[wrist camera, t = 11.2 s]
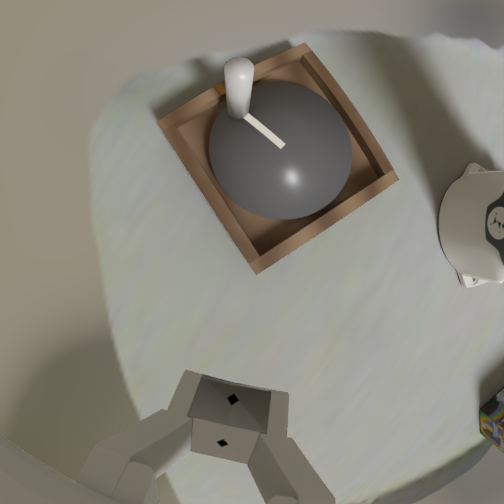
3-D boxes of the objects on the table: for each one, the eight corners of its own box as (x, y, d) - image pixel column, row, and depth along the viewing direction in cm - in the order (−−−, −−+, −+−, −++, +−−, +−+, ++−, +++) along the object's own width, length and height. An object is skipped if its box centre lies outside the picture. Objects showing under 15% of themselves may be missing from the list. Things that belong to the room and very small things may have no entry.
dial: (373, 149, 34) (422, 126, 23) (288, 249, 35) (312, 263, 23) (273, 63, 32) (286, 10, 21) (180, 156, 33) (156, 128, 22)
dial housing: (299, 55, 34) (305, 41, 30) (386, 182, 36) (399, 179, 32) (163, 129, 34) (156, 121, 30) (254, 269, 36) (256, 275, 33)
